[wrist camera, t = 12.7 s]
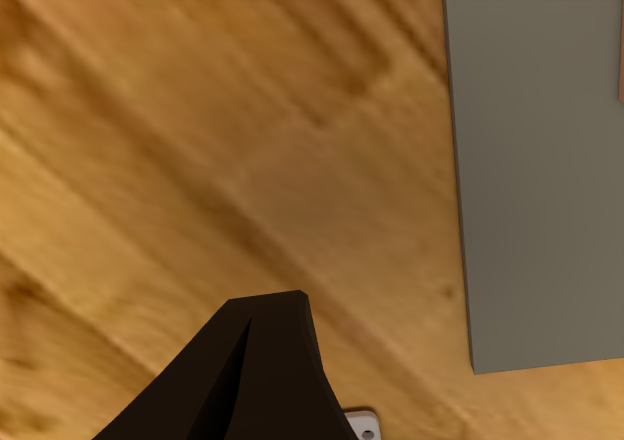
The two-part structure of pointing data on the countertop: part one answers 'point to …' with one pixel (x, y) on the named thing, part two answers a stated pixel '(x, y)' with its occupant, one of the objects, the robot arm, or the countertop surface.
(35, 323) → the countertop surface
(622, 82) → the tile
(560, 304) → the mat
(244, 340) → the robot arm
